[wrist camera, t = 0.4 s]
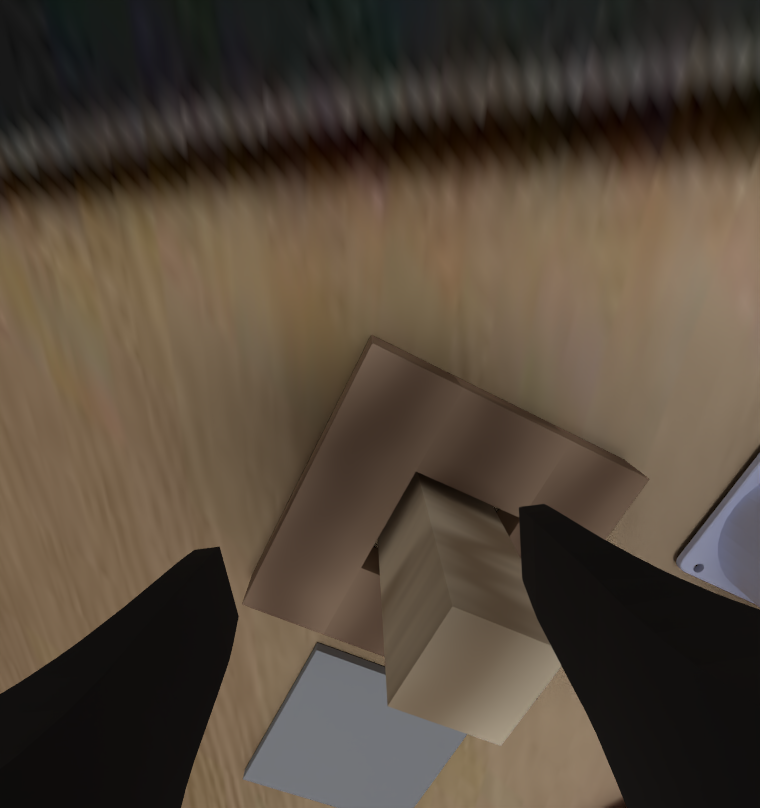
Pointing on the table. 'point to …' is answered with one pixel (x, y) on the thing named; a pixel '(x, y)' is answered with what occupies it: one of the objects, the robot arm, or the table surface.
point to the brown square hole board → (392, 472)
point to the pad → (349, 739)
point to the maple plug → (458, 615)
